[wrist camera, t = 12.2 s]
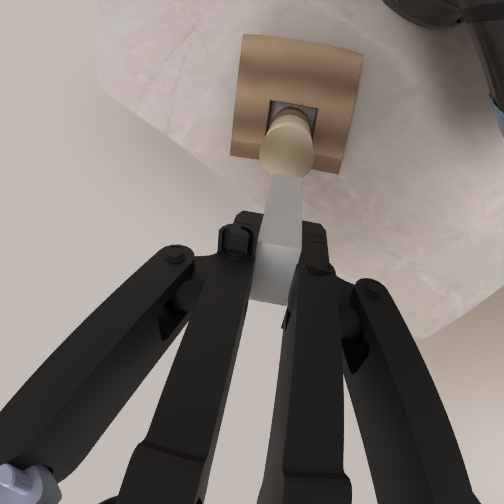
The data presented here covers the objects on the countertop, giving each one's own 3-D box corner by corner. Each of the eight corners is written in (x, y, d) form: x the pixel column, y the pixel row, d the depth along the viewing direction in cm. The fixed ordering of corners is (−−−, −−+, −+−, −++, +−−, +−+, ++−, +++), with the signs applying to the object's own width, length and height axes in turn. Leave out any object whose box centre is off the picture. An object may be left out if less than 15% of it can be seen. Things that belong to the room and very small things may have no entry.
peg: (276, 103, 34) (262, 124, 21) (311, 109, 34) (319, 134, 21) (271, 135, 37) (255, 177, 24) (305, 141, 37) (309, 186, 24)
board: (247, 36, 29) (243, 33, 27) (358, 55, 28) (363, 54, 26) (234, 149, 39) (230, 155, 36) (335, 167, 38) (338, 174, 36)
